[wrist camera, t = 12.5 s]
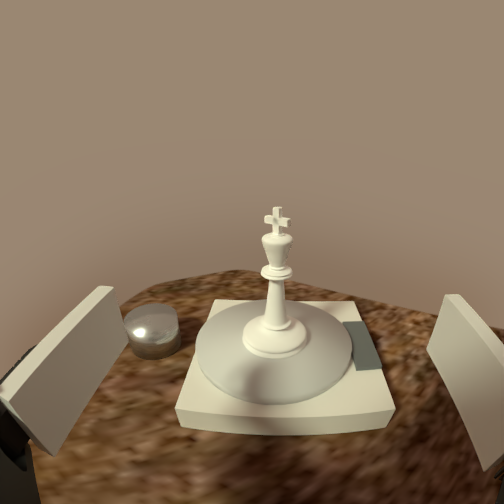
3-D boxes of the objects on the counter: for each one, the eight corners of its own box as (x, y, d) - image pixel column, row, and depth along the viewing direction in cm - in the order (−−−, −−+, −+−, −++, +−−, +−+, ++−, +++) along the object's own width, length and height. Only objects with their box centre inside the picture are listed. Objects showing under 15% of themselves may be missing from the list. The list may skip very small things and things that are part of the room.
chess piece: (266, 313, 24) (267, 197, 21) (317, 332, 22) (329, 206, 18) (229, 342, 21) (221, 210, 17) (284, 368, 18) (292, 222, 14)
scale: (350, 319, 28) (354, 294, 27) (385, 427, 15) (399, 401, 14) (216, 317, 29) (214, 292, 28) (181, 426, 16) (172, 400, 15)
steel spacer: (187, 330, 27) (183, 305, 26) (173, 363, 23) (167, 336, 21) (142, 326, 28) (136, 302, 26) (123, 356, 23) (114, 330, 22)
